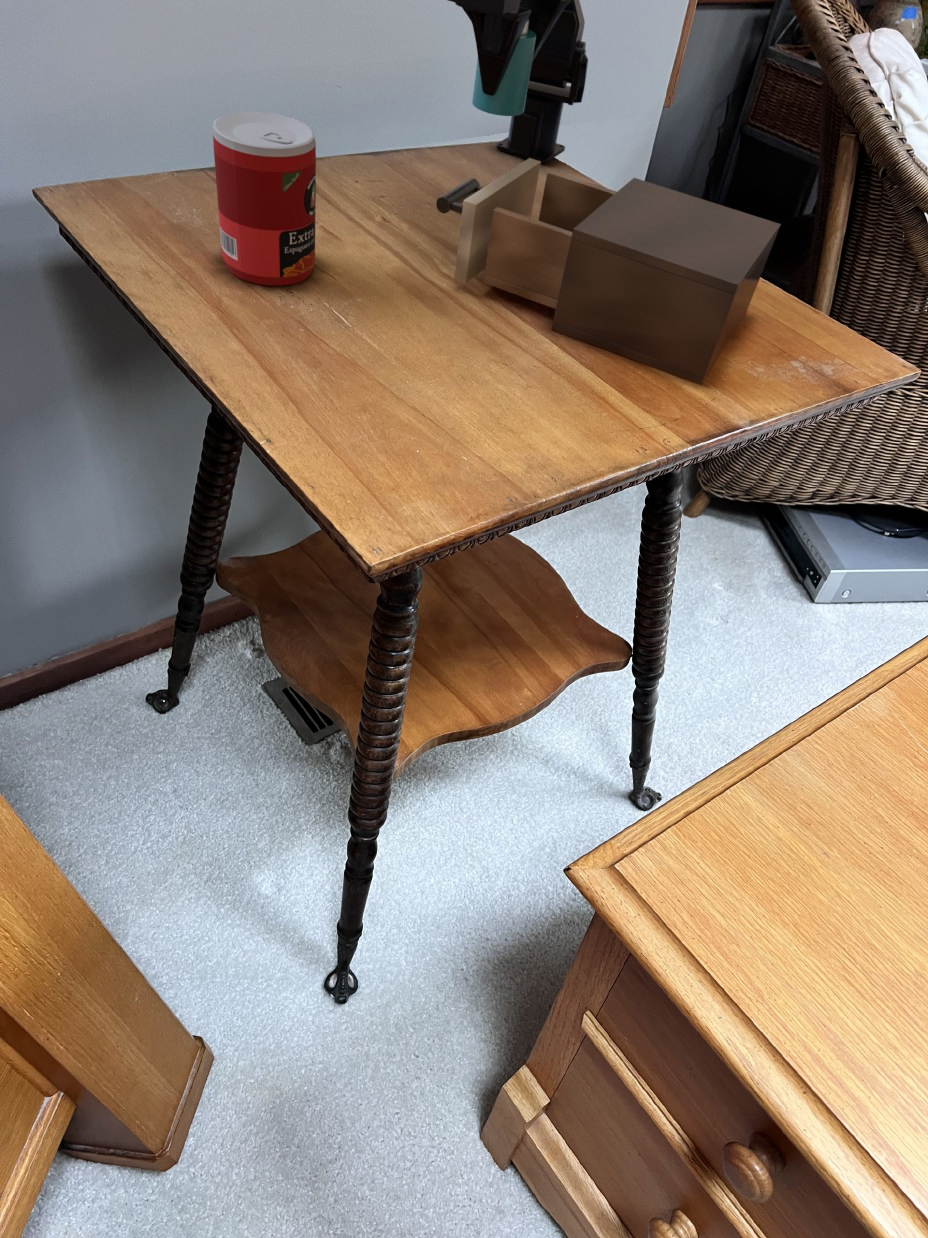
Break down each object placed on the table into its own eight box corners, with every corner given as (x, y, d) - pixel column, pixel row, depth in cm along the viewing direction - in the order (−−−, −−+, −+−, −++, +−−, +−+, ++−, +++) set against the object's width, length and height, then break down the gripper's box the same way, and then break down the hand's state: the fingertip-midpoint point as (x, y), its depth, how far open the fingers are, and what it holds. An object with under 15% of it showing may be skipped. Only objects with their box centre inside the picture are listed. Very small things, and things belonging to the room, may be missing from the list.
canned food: (298, 295, 72) (297, 155, 64) (207, 274, 73) (194, 132, 65) (327, 257, 78) (328, 124, 70) (241, 239, 78) (233, 103, 70)
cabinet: (550, 329, 74) (573, 228, 68) (609, 270, 83) (633, 176, 77) (701, 385, 71) (738, 284, 64) (744, 317, 80) (781, 223, 74)
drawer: (411, 264, 77) (417, 184, 72) (477, 217, 86) (488, 144, 81) (583, 327, 73) (603, 247, 68) (635, 272, 82) (655, 198, 77)
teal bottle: (486, 94, 81) (498, 5, 76) (532, 108, 80) (547, 18, 75) (462, 104, 78) (473, 12, 73) (510, 119, 77) (524, 27, 72)
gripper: (494, -162, 75) (470, 48, 86) (381, -160, 62) (370, 84, 74) (613, -135, 72) (571, 78, 83) (518, -127, 60) (485, 120, 71)
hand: (501, 88), depth 78 cm, fingers closed on teal bottle, 5 cm apart
